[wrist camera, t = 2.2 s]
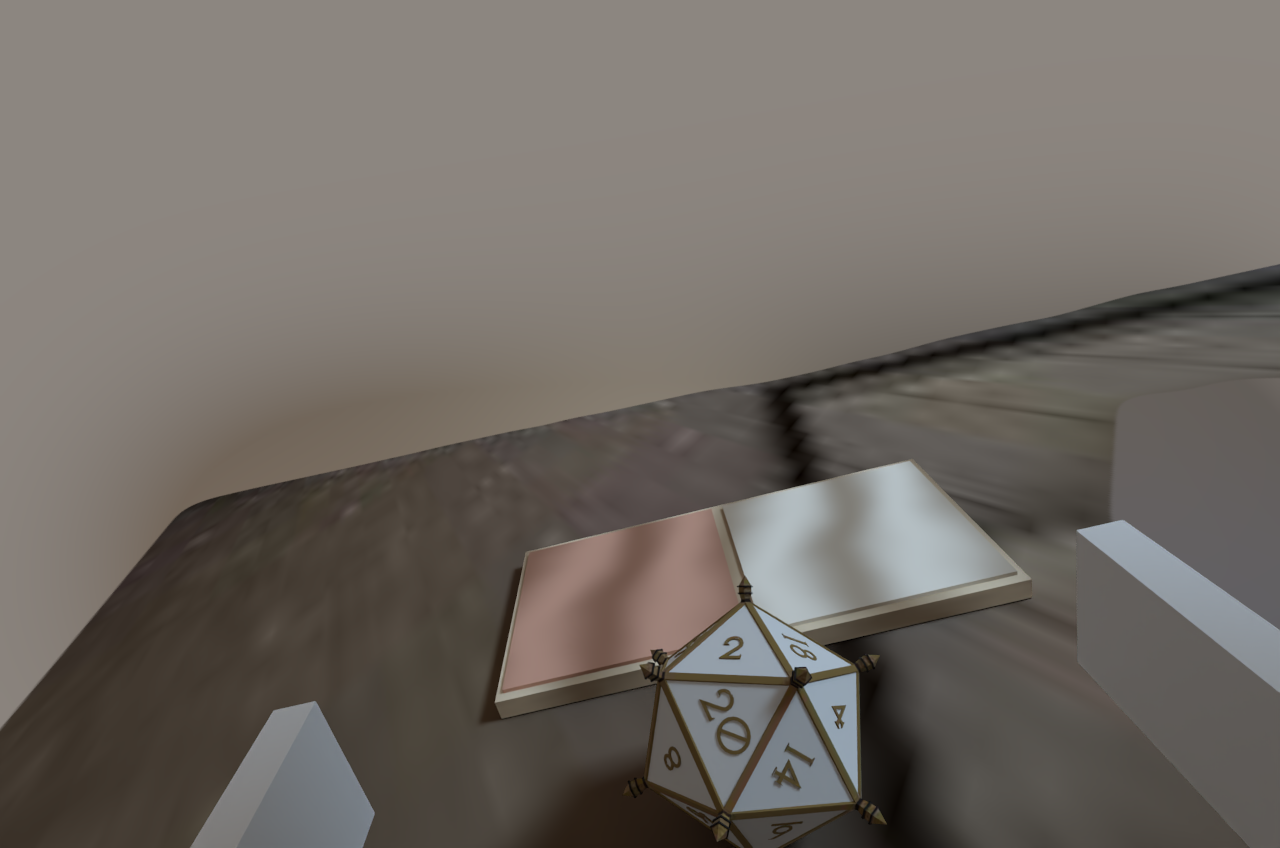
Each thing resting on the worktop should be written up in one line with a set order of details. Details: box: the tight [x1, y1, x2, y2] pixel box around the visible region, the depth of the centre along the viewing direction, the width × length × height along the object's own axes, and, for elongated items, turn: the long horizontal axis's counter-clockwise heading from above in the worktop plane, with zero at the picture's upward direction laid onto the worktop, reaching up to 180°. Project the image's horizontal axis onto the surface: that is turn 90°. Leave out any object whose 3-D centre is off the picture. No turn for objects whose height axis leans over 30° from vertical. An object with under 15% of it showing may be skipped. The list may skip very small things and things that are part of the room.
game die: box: [622, 576, 887, 848], centre depth 24 cm, size 9×8×10 cm
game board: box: [495, 459, 1032, 719], centre depth 38 cm, size 25×13×1 cm, turn 93°
